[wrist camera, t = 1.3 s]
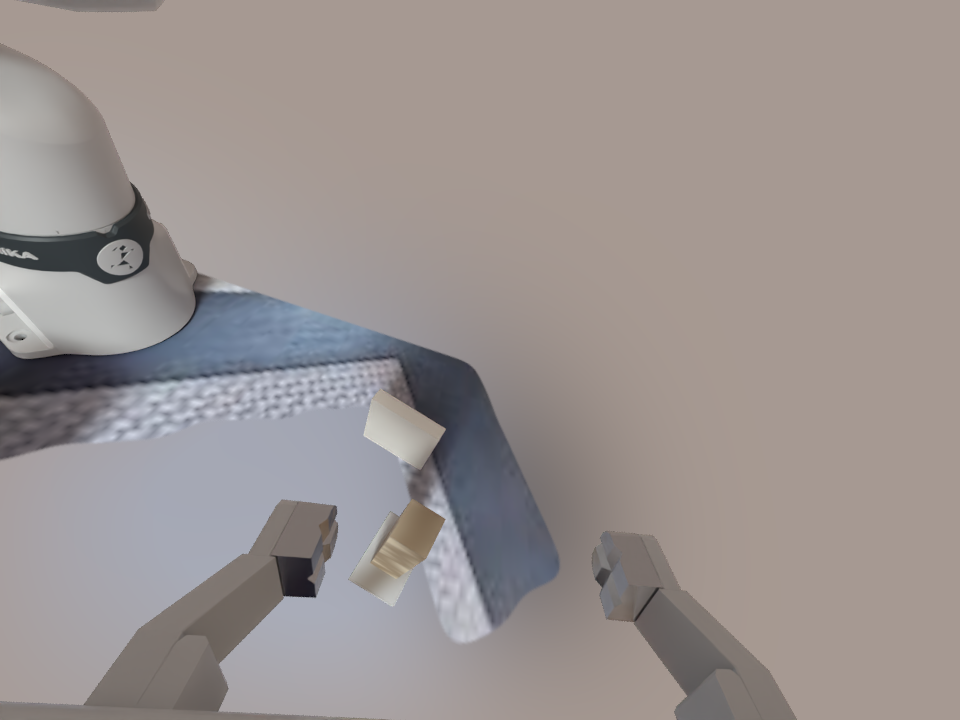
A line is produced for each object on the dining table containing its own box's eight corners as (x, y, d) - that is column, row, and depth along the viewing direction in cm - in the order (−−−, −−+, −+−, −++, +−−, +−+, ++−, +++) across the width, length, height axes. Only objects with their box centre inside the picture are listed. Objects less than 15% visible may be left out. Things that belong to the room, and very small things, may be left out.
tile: (363, 435, 43) (371, 398, 36) (371, 425, 44) (381, 387, 37) (420, 470, 43) (439, 440, 36) (426, 459, 44) (446, 428, 37)
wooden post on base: (348, 579, 34) (360, 556, 24) (389, 512, 39) (414, 469, 29) (392, 607, 34) (423, 596, 24) (428, 536, 39) (467, 502, 29)
